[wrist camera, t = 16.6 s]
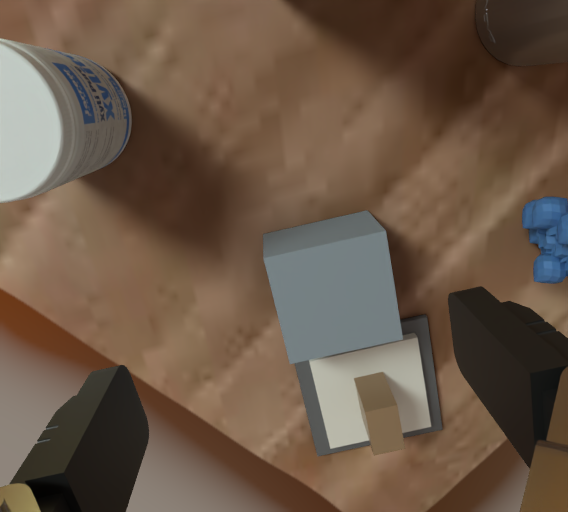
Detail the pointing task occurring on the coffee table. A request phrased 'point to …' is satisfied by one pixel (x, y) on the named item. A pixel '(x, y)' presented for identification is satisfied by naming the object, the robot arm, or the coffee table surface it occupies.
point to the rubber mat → (322, 444)
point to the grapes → (548, 237)
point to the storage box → (332, 286)
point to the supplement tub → (56, 119)
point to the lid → (372, 394)
